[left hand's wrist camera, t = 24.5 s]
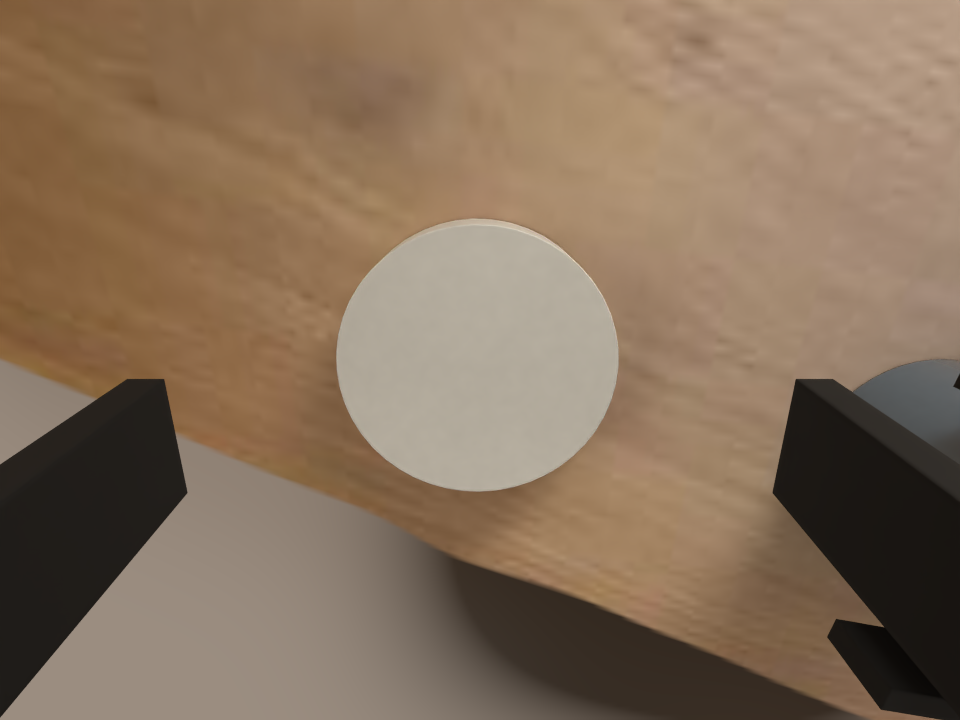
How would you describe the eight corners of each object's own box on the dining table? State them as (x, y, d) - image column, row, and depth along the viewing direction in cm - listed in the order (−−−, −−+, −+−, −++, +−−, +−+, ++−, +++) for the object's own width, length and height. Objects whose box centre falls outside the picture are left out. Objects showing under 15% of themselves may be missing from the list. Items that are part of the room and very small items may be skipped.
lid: (656, 301, 21) (675, 315, 19) (522, 501, 23) (527, 532, 22) (422, 165, 19) (416, 166, 17) (307, 396, 22) (290, 418, 20)
